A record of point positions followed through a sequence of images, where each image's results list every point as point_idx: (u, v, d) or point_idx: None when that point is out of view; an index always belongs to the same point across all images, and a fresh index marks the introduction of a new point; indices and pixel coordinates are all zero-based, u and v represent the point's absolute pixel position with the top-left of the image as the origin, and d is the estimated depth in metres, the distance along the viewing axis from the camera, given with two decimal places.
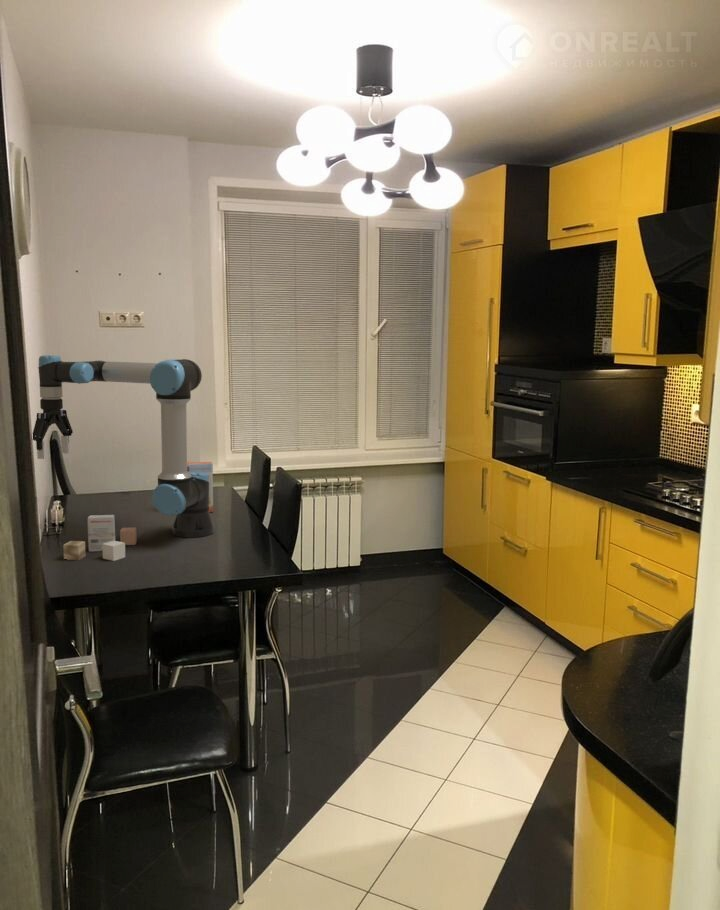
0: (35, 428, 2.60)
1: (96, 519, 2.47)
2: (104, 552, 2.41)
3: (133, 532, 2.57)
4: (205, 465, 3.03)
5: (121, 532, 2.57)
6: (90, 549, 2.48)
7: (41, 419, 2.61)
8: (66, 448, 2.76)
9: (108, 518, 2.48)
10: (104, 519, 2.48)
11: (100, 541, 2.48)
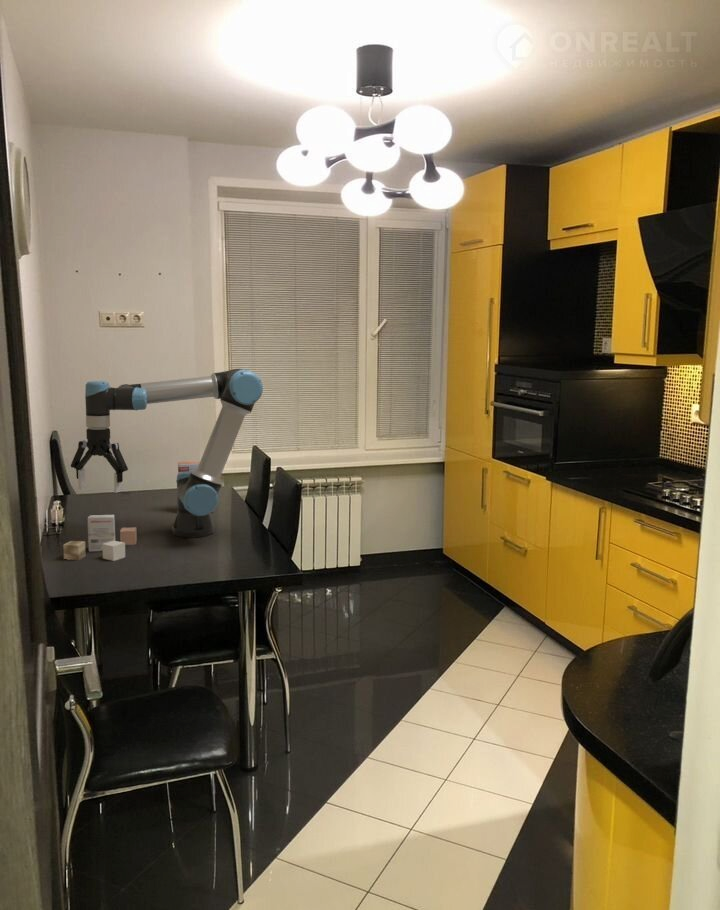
0: None
1: (96, 519, 2.47)
2: (104, 552, 2.41)
3: (133, 532, 2.57)
4: None
5: (121, 532, 2.57)
6: (90, 549, 2.48)
7: None
8: None
9: (108, 518, 2.48)
10: (104, 519, 2.48)
11: (100, 541, 2.48)
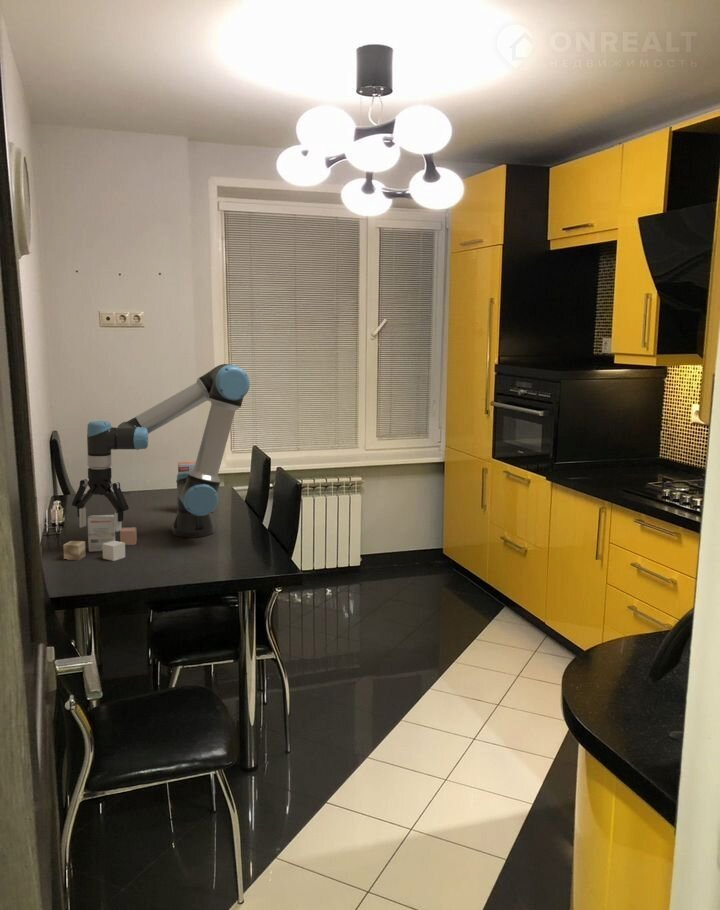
0: None
1: (96, 519, 2.47)
2: (104, 552, 2.41)
3: (133, 532, 2.57)
4: None
5: (121, 532, 2.57)
6: (90, 549, 2.48)
7: None
8: None
9: (108, 518, 2.48)
10: (104, 519, 2.48)
11: (100, 541, 2.48)
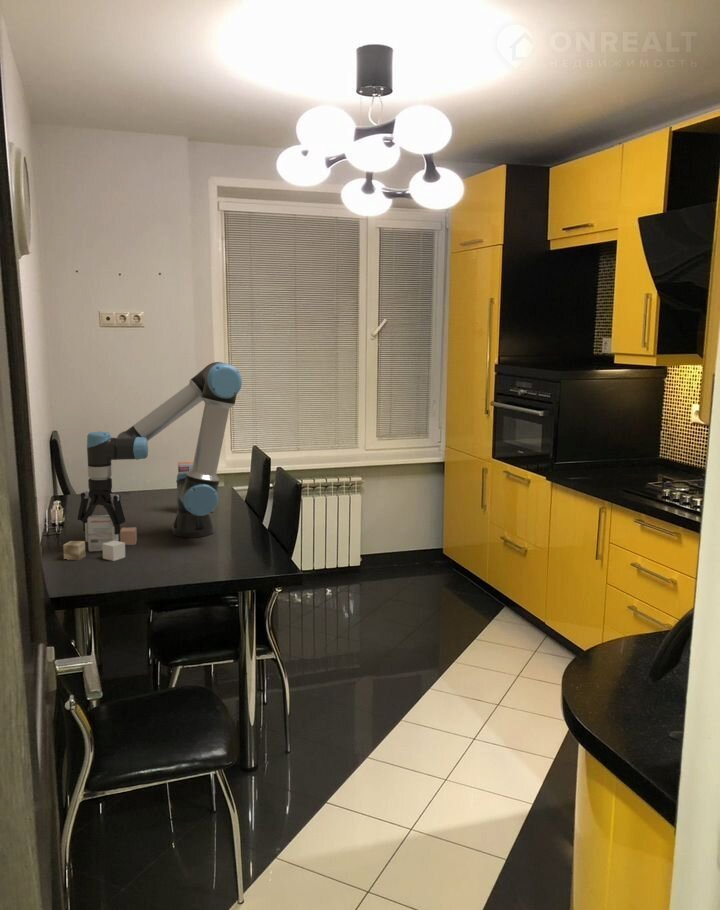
0: None
1: (96, 519, 2.47)
2: (104, 552, 2.41)
3: (133, 532, 2.57)
4: None
5: (121, 532, 2.57)
6: (90, 549, 2.48)
7: None
8: None
9: (108, 518, 2.48)
10: (104, 519, 2.48)
11: (100, 541, 2.48)
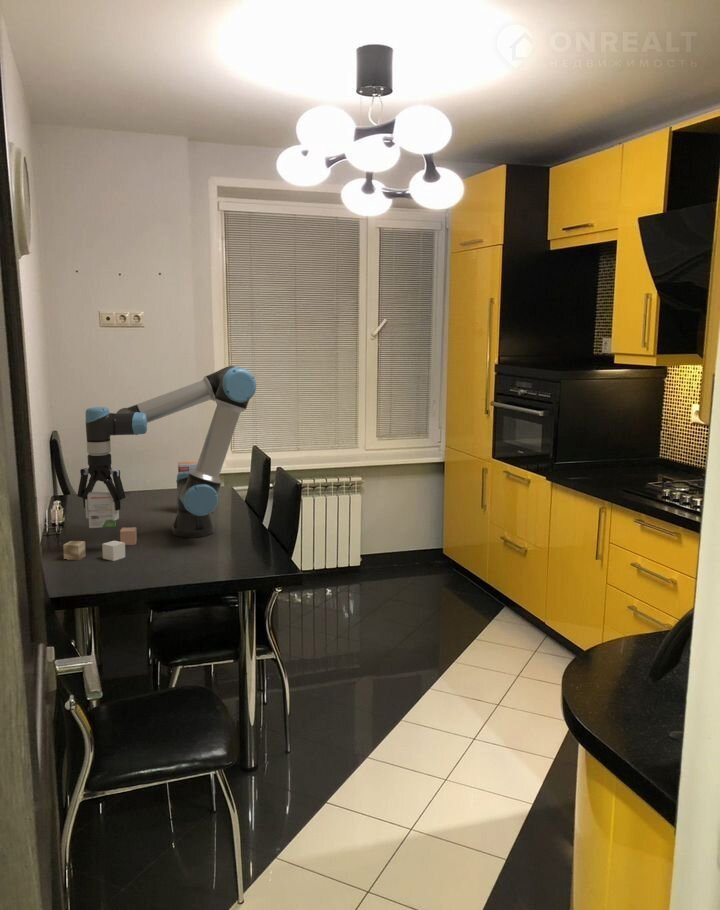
0: None
1: (96, 495, 2.46)
2: (104, 552, 2.41)
3: (133, 532, 2.57)
4: None
5: (121, 532, 2.57)
6: (90, 525, 2.47)
7: None
8: None
9: (108, 494, 2.47)
10: (104, 495, 2.47)
11: (100, 517, 2.47)
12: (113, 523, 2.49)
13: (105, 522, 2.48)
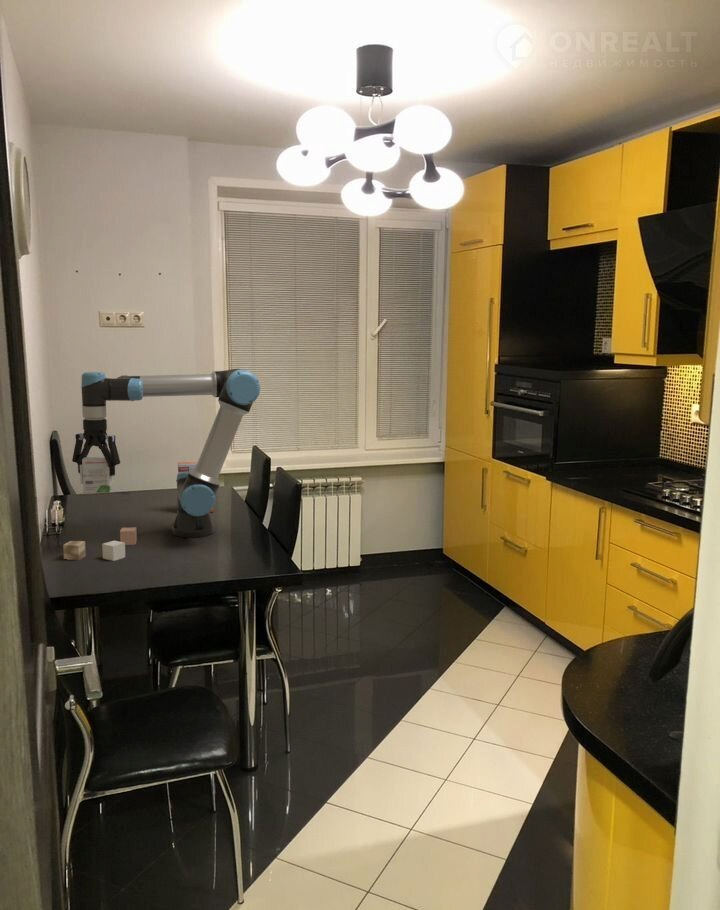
0: None
1: (91, 460, 2.45)
2: (104, 552, 2.41)
3: (133, 532, 2.57)
4: None
5: (121, 532, 2.57)
6: (85, 490, 2.46)
7: None
8: None
9: (103, 459, 2.46)
10: (99, 460, 2.46)
11: (94, 482, 2.47)
12: (107, 489, 2.48)
13: (99, 487, 2.47)
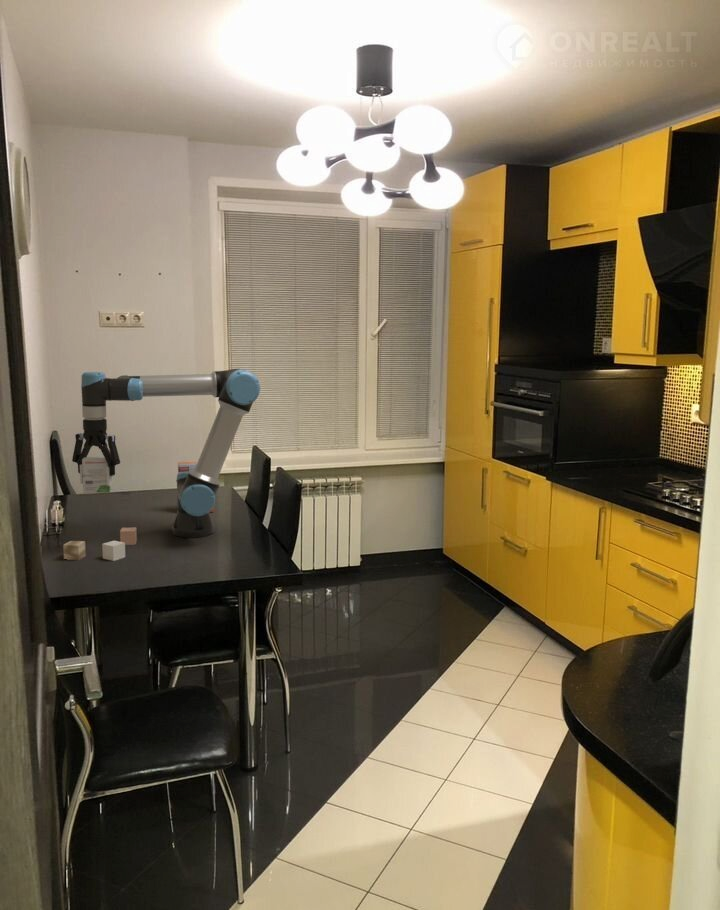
0: None
1: (91, 460, 2.45)
2: (104, 552, 2.41)
3: (133, 532, 2.57)
4: None
5: (121, 532, 2.57)
6: (85, 490, 2.46)
7: None
8: None
9: (103, 459, 2.46)
10: (99, 460, 2.46)
11: (94, 482, 2.47)
12: (107, 489, 2.48)
13: (99, 487, 2.47)
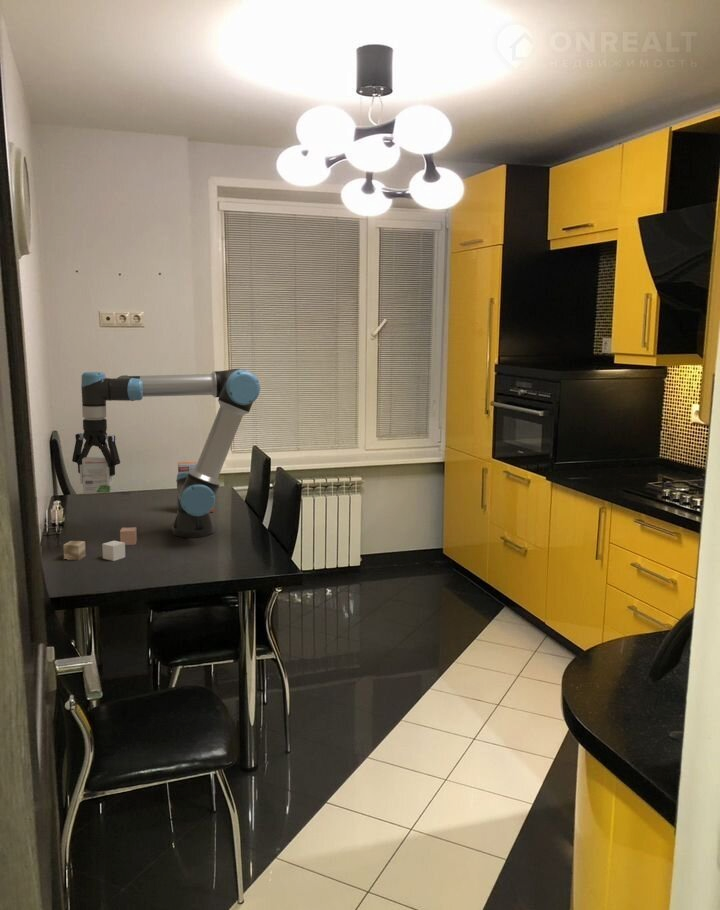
0: None
1: (91, 460, 2.45)
2: (104, 552, 2.41)
3: (133, 532, 2.57)
4: None
5: (121, 532, 2.57)
6: (85, 490, 2.46)
7: None
8: None
9: (103, 459, 2.46)
10: (99, 460, 2.46)
11: (94, 482, 2.47)
12: (107, 489, 2.48)
13: (99, 487, 2.47)
